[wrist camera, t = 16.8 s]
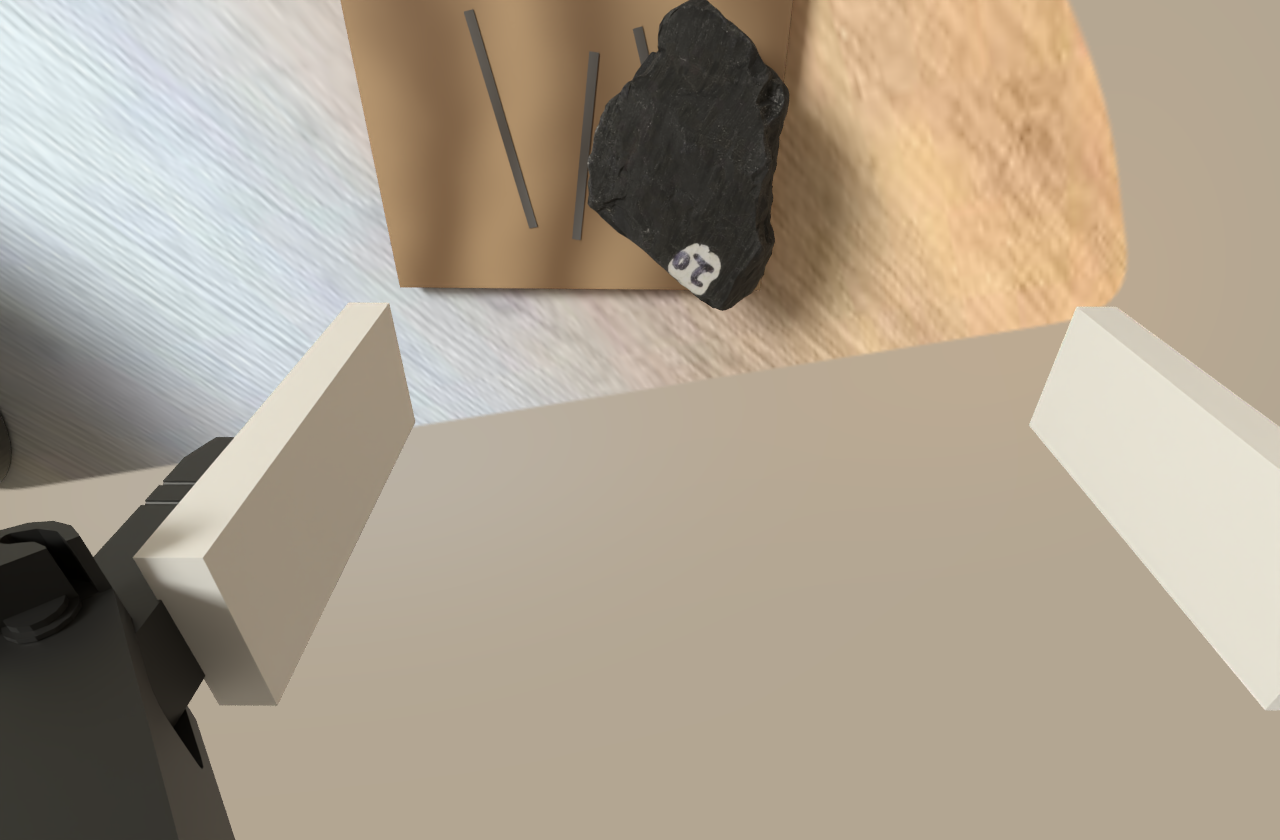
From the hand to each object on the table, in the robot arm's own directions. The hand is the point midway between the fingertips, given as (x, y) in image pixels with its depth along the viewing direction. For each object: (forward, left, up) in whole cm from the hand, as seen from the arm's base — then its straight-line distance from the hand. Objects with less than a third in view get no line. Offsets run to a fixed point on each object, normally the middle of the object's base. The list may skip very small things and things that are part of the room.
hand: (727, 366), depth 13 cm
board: (-5, 0, -21) cm, 22 cm away
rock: (0, 0, -20) cm, 20 cm away
